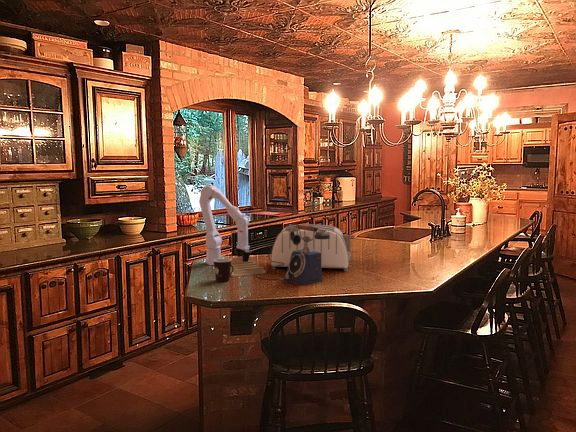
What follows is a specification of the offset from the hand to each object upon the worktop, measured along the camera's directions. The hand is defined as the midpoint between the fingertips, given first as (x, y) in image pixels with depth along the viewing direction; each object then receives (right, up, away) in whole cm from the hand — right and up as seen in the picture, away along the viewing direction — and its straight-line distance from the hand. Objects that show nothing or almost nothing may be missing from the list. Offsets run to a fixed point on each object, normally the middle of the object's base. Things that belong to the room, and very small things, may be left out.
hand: (243, 262), depth 264 cm
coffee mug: (-6, -6, -35) cm, 36 cm away
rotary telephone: (+27, -5, -29) cm, 40 cm away
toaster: (+39, -2, -2) cm, 39 cm away
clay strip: (0, -2, 0) cm, 2 cm away
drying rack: (+2, -3, -14) cm, 15 cm away
